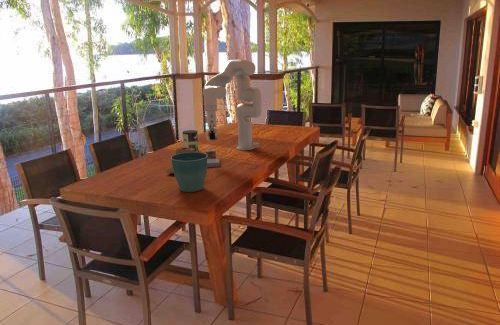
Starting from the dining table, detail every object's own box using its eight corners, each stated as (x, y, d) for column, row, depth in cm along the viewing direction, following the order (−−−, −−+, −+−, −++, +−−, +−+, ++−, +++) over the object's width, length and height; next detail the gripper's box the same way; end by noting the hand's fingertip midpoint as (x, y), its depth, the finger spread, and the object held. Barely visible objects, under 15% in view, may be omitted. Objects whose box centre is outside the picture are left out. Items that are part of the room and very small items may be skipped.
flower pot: (189, 197, 208) (187, 162, 204) (165, 190, 220) (163, 157, 216) (216, 188, 221) (215, 155, 217) (192, 181, 233) (191, 150, 229)
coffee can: (200, 150, 307) (199, 130, 304) (195, 153, 298) (194, 132, 294) (186, 149, 309) (185, 129, 306) (181, 153, 300) (180, 132, 296)
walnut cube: (215, 158, 284) (214, 149, 282) (216, 160, 278) (215, 151, 276) (206, 158, 283) (205, 149, 281) (206, 160, 277) (206, 151, 275)
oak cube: (216, 138, 267) (216, 128, 266) (217, 140, 261) (217, 130, 260) (206, 138, 266) (206, 129, 265) (207, 140, 260) (206, 130, 259)
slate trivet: (218, 162, 272) (218, 158, 272) (219, 166, 263) (219, 162, 262) (202, 163, 271) (202, 159, 270) (203, 167, 261) (202, 163, 261)
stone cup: (199, 171, 253) (197, 145, 250) (191, 176, 242) (189, 150, 239) (174, 169, 257) (173, 144, 254) (165, 175, 246) (164, 149, 243)
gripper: (218, 109, 252) (219, 140, 256) (215, 106, 268) (216, 135, 272) (205, 110, 250) (206, 141, 255) (203, 106, 267) (204, 136, 271)
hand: (211, 138), depth 264 cm, fingers closed on oak cube, 6 cm apart
